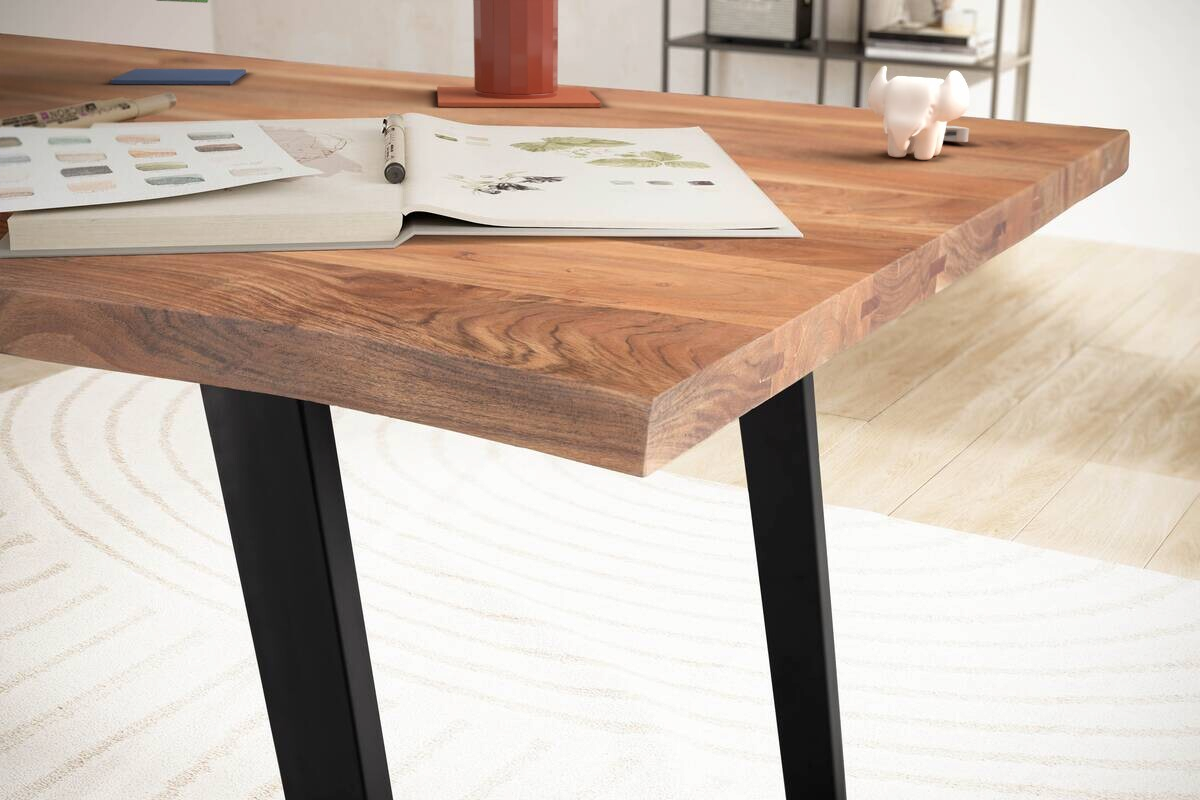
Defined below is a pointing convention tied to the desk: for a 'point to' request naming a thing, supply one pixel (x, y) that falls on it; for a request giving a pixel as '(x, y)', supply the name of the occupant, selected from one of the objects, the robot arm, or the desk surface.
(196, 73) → the blue mat
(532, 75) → the terracotta cup
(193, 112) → the desk surface
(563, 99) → the terracotta mat
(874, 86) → the elephant figurine
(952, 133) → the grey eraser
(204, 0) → the ink box
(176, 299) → the desk surface
